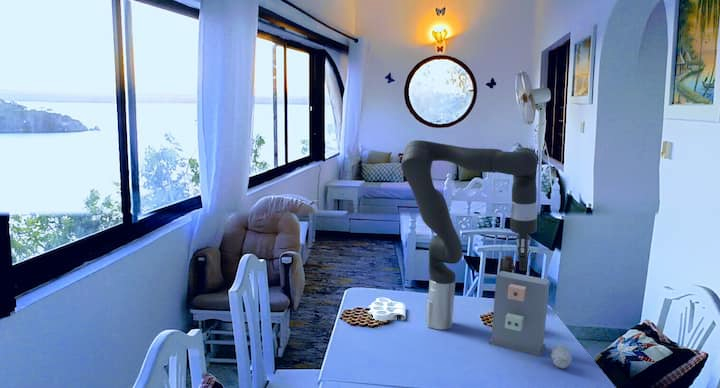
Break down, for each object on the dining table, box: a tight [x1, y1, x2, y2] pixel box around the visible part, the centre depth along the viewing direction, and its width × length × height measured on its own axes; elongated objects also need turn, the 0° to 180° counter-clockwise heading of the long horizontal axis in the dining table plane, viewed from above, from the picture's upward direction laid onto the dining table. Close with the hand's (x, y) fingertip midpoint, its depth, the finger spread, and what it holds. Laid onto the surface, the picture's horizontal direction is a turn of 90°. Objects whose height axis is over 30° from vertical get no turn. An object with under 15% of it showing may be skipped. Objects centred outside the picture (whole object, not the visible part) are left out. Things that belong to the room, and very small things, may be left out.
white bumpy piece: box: [366, 297, 407, 322], centre depth 201 cm, size 3×18×15 cm
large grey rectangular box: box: [488, 270, 551, 358], centre depth 175 cm, size 8×17×24 cm, turn 60°
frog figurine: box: [550, 343, 573, 369], centre depth 163 cm, size 6×7×7 cm
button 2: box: [505, 313, 524, 331], centre depth 169 cm, size 3×5×4 cm
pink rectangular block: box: [507, 284, 526, 302], centre depth 167 cm, size 3×5×4 cm
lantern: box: [498, 233, 518, 273], centre depth 211 cm, size 8×8×30 cm
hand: (522, 269), depth 160 cm, fingers closed
